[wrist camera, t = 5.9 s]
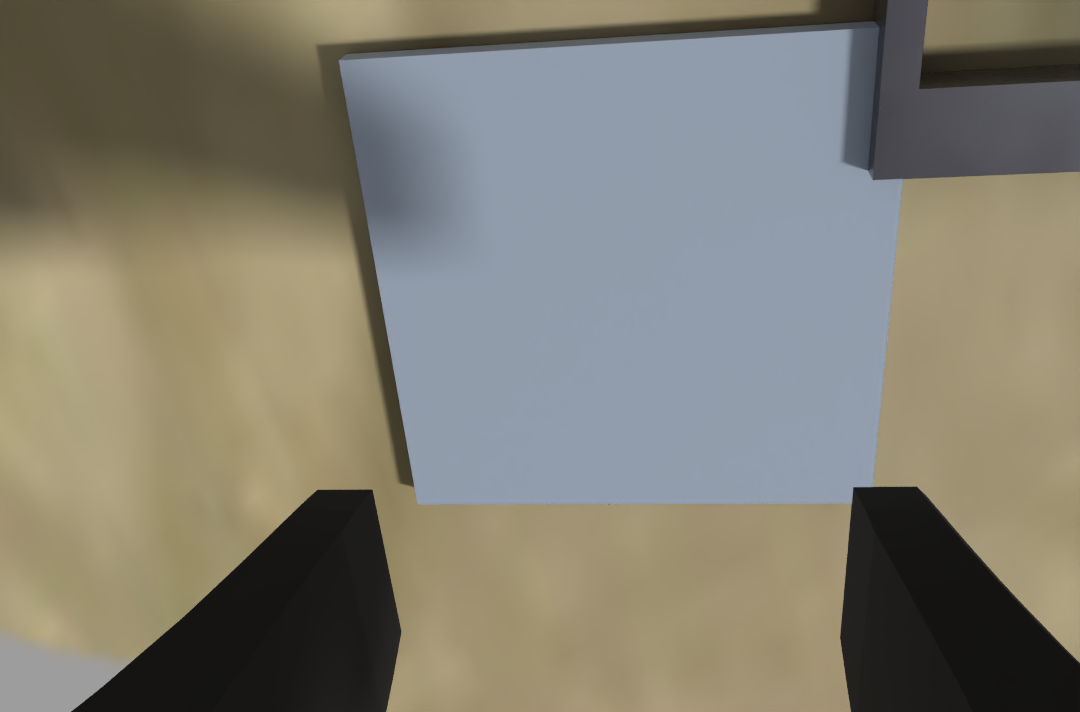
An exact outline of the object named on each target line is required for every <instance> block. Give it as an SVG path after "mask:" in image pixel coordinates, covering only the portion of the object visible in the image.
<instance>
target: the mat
mask: <svg viewBox="0 0 1080 712" xmlns="http://www.w3.org/2000/svg"><path fill="white" fill-rule="evenodd" d="M878 36H879V27H878V25H877V24H876V23H875V22H874V21H869V22H853V23H837V24H821V25H805V26H788V27H772V28H756V29H740V30H724V31H708V32H692V33H676V34H659V35H643V36H627V37H611V38H595V39H579V40H563V41H546V42H530V43H514V44H498V45H482V46H466V47H450V48H434V49H417V50H401V51H385V52H369V53H353V54H345V55H344V56H343V57H342V58H341V59H340V60H339V66H340V72H341V77H342V83H343V88H344V94H345V100H346V105H347V111H348V116H349V122H350V128H351V133H352V139H353V145H354V150H355V156H356V161H357V167H358V173H359V178H360V184H361V189H362V195H363V201H364V206H365V212H366V218H367V223H368V229H369V234H370V240H371V246H372V251H373V257H374V262H375V268H376V274H377V279H378V285H379V291H380V296H381V302H382V307H383V313H384V319H385V324H386V330H387V335H388V341H389V347H390V352H391V358H392V363H393V369H394V375H395V380H396V386H397V392H398V397H399V403H400V408H401V414H402V420H403V425H404V431H405V436H406V442H407V448H408V453H409V459H410V465H411V470H412V476H413V481H414V487H415V493H416V498H417V504H825V503H852V497H853V487H873V479H874V468H875V458H876V448H877V438H878V428H879V417H880V407H881V397H882V387H883V377H884V367H885V356H886V346H887V336H888V326H889V316H890V306H891V295H892V285H893V275H894V265H895V255H896V244H897V234H898V224H899V214H900V204H901V194H902V183H903V179H889V180H872V178H871V176H870V174H869V172H868V161H869V149H870V136H871V124H872V111H873V99H874V86H875V74H876V61H877V49H878Z"/></svg>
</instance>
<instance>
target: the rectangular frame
mask: <svg viewBox="0 0 1080 712" xmlns="http://www.w3.org/2000/svg"><path fill="white" fill-rule="evenodd" d="M927 6H928V0H875V11H874V22H875V23H876V24H877V25H878V27H879V36H878V49H877V61H876V74H875V86H874V99H873V111H872V124H871V136H870V149H869V161H868V172H869V174H870V176H871V178H872V180H889V179H913V178H937V177H960V176H984V175H1008V174H1031V173H1055V172H1079V171H1080V64H1079V65H1061V66H1043V67H1024V68H1006V69H988V70H970V71H952V72H934V73H921V65H922V55H923V45H924V35H925V25H926V16H927Z"/></svg>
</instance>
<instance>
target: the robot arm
mask: <svg viewBox="0 0 1080 712" xmlns="http://www.w3.org/2000/svg"><path fill="white" fill-rule="evenodd" d="M400 636H401V628H400V623H399V618H398V613H397V608H396V603H395V598H394V593H393V589H392V584H391V579H390V574H389V569H388V564H387V559H386V554H385V549H384V544H383V539H382V535H381V530H380V525H379V520H378V515H377V510H376V505H375V500H374V495H373V490H317V491H316V492H315V493H314V494H313V495H311V496H310V497H309V498H308V499H307V500H306V501H305V502H304V503H303V504H302V505H301V506H300V507H298V508H297V509H296V510H295V511H294V512H293V513H292V514H291V515H290V516H289V517H288V518H287V519H286V520H285V521H284V522H283V523H282V524H281V525H280V526H279V527H278V528H277V529H276V530H275V531H274V532H273V533H272V534H271V535H270V536H269V537H267V538H266V539H265V540H264V541H263V542H262V543H261V544H260V545H259V546H258V547H257V548H256V549H255V550H254V551H253V552H252V553H251V554H250V555H249V556H248V557H247V558H246V559H245V560H244V561H243V562H242V563H241V564H240V565H239V566H238V567H236V568H235V569H234V570H233V571H232V572H231V573H230V574H229V575H228V576H227V577H226V578H225V579H224V580H223V581H222V582H220V583H219V584H218V585H217V586H216V587H215V588H214V589H213V590H212V591H211V592H210V593H209V594H208V595H207V596H206V597H205V598H203V599H202V600H201V601H200V602H199V603H198V604H197V605H196V606H195V607H194V608H193V609H192V610H191V611H190V612H189V613H187V614H186V615H185V616H184V617H183V618H182V619H181V620H180V621H179V622H177V623H176V624H175V625H174V626H173V627H172V628H170V629H169V630H168V631H167V632H166V633H165V634H163V635H162V636H161V637H160V638H159V639H158V640H156V641H155V642H154V643H153V644H152V645H151V646H149V647H148V648H147V649H146V650H145V651H144V652H142V653H141V654H140V655H139V656H138V657H137V658H135V659H134V660H133V661H132V662H131V663H130V664H129V665H127V666H126V667H125V668H124V669H123V670H122V671H120V672H119V673H118V674H117V675H116V676H115V677H114V678H112V679H111V680H110V681H109V682H108V683H106V684H105V685H104V686H103V687H102V688H100V689H99V690H98V691H97V692H96V693H94V694H93V695H92V696H90V697H89V698H88V699H87V700H85V701H84V702H83V703H82V704H80V705H79V706H78V707H77V708H75V709H74V710H73V711H71V712H386V710H387V705H388V700H389V695H390V690H391V685H392V680H393V675H394V669H395V664H396V658H397V653H398V647H399V642H400ZM840 639H841V646H842V653H843V660H844V667H845V674H846V681H847V688H848V694H849V701H850V707H851V712H1080V663H1079V662H1078V661H1077V660H1076V659H1075V658H1074V657H1073V656H1072V655H1071V654H1070V653H1069V652H1068V651H1067V650H1066V649H1065V648H1064V647H1063V646H1062V645H1061V644H1060V643H1059V642H1058V641H1057V640H1056V639H1055V638H1054V637H1053V635H1052V634H1051V633H1050V632H1049V631H1048V630H1047V629H1046V628H1045V627H1044V626H1043V625H1042V624H1041V623H1040V622H1039V621H1038V620H1037V619H1036V618H1035V617H1034V616H1033V615H1032V614H1031V613H1030V612H1029V611H1028V610H1027V609H1026V608H1025V607H1024V606H1023V604H1022V603H1021V602H1020V601H1019V600H1018V599H1017V598H1016V597H1015V596H1014V595H1013V594H1012V593H1011V592H1010V591H1009V589H1008V588H1007V587H1006V586H1005V585H1004V584H1003V583H1002V582H1001V581H1000V580H999V579H998V577H997V576H996V575H995V574H994V573H993V572H992V571H991V570H990V569H989V567H988V566H987V565H986V564H985V563H984V562H983V561H982V560H981V558H980V557H979V556H978V555H977V554H976V553H975V552H974V551H973V549H972V548H971V547H970V546H969V545H968V544H967V543H966V541H965V540H964V539H963V538H962V537H961V536H960V535H959V533H958V532H957V531H956V530H955V529H954V528H953V526H952V525H951V524H950V523H949V522H948V521H947V519H946V518H945V517H944V516H943V515H942V514H941V512H940V511H939V510H938V509H937V508H936V507H935V505H934V504H933V503H932V502H931V501H930V500H929V498H928V497H927V496H926V495H925V494H924V493H923V492H922V491H921V490H920V489H919V488H918V487H853V497H852V508H851V520H850V531H849V543H848V554H847V566H846V578H845V589H844V601H843V612H842V624H841V635H840Z"/></svg>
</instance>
